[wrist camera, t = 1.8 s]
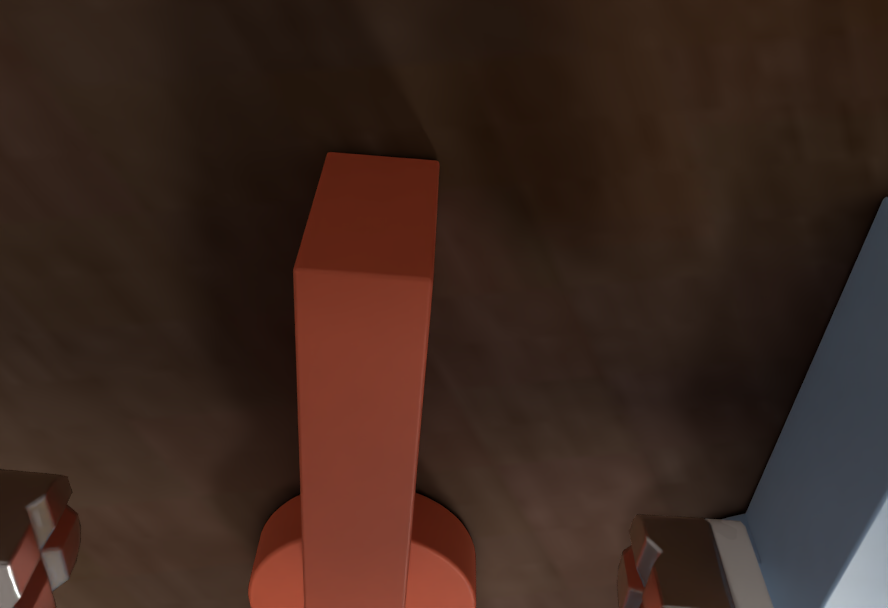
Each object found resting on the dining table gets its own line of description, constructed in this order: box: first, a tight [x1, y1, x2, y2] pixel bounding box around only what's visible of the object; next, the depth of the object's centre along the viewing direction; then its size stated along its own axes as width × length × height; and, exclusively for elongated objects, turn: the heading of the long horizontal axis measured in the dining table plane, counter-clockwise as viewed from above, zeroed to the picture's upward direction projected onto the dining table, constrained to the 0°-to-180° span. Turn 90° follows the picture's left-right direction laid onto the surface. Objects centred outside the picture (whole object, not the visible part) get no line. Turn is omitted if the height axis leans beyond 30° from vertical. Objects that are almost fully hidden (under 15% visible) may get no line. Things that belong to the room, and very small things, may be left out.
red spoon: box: [248, 152, 476, 608], centre depth 14 cm, size 11×4×3 cm, turn 176°
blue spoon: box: [721, 197, 888, 608], centre depth 14 cm, size 11×4×3 cm, turn 176°
